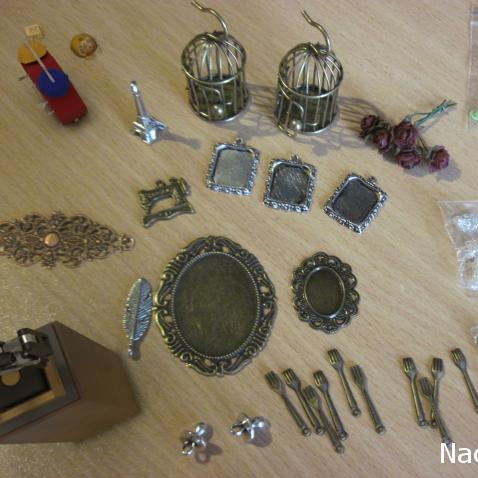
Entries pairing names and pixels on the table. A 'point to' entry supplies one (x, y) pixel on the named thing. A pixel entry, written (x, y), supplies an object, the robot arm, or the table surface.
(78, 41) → the fruit
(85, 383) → the stand
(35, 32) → the alphabet block
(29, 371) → the dark brown block
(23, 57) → the red and blue toy
